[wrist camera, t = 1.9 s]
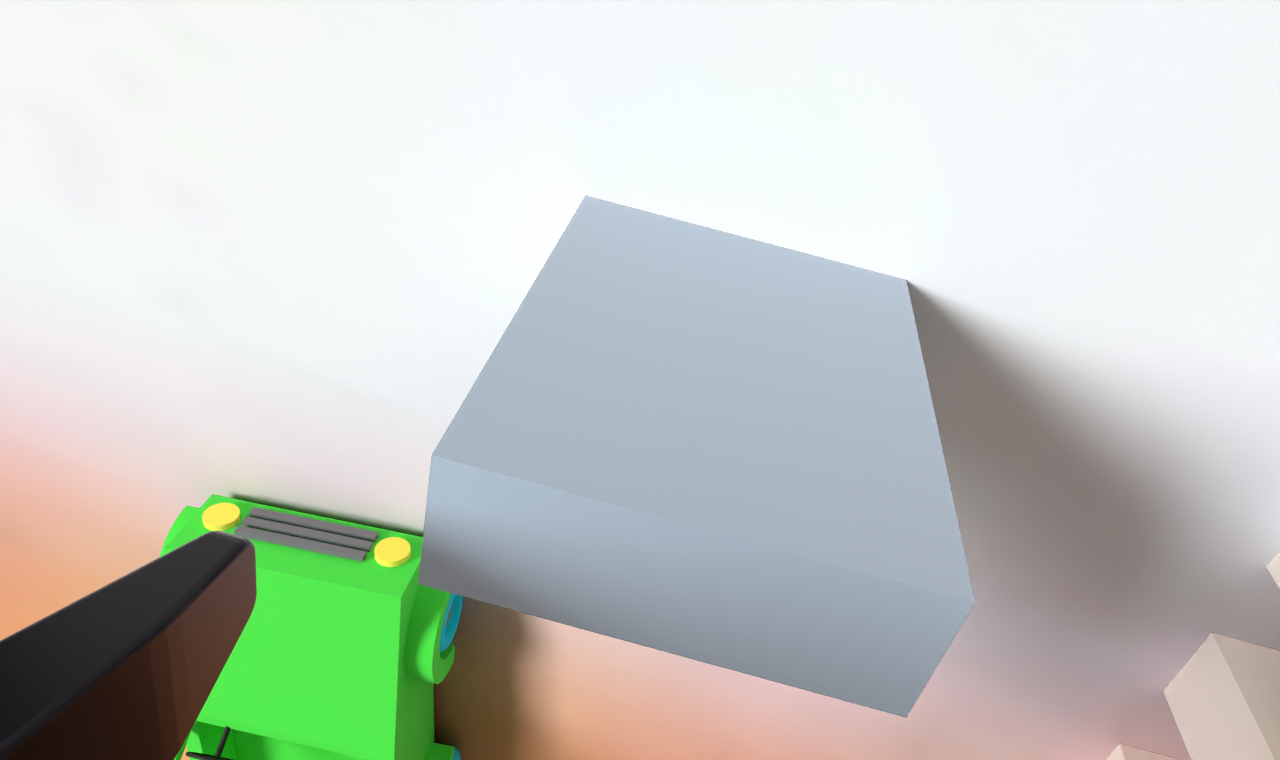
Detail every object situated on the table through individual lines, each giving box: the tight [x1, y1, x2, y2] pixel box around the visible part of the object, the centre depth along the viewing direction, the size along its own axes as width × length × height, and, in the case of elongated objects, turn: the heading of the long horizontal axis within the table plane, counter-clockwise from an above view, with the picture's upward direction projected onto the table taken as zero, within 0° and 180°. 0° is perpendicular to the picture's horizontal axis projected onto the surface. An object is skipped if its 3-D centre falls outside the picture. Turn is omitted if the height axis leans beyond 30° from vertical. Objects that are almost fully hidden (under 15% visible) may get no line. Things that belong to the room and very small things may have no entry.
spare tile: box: [418, 196, 975, 717], centre depth 14 cm, size 2×6×8 cm, turn 78°
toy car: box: [160, 494, 463, 760], centre depth 22 cm, size 11×7×7 cm, turn 173°
